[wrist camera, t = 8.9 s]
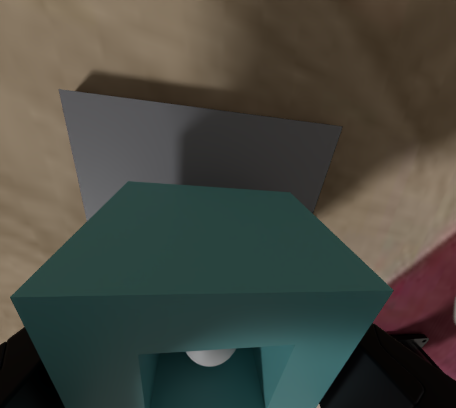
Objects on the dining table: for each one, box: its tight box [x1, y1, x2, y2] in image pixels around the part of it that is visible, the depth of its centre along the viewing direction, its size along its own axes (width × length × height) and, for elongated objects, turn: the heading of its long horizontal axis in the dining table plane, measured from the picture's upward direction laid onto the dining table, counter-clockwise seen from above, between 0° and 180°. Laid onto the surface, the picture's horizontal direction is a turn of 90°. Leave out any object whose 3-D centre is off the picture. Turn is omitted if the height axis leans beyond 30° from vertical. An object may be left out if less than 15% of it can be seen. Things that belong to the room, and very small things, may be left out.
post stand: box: [59, 89, 343, 367], centre depth 8 cm, size 12×12×7 cm
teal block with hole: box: [10, 181, 394, 408], centre depth 7 cm, size 6×6×5 cm
